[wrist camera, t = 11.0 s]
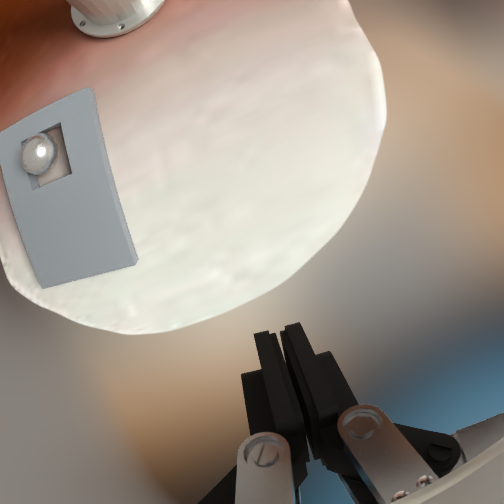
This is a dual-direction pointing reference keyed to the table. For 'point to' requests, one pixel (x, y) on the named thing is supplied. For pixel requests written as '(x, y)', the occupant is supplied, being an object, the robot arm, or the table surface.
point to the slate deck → (68, 197)
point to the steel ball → (39, 153)
